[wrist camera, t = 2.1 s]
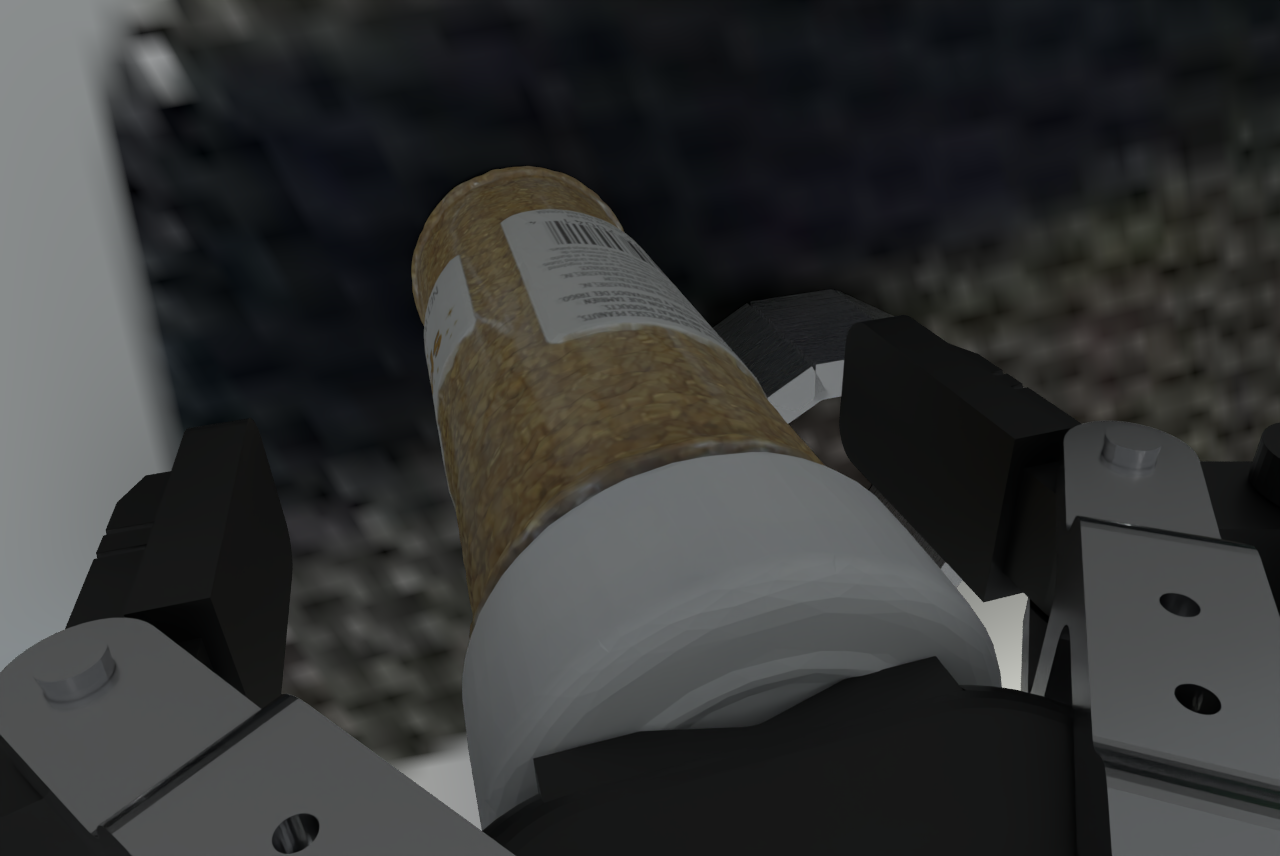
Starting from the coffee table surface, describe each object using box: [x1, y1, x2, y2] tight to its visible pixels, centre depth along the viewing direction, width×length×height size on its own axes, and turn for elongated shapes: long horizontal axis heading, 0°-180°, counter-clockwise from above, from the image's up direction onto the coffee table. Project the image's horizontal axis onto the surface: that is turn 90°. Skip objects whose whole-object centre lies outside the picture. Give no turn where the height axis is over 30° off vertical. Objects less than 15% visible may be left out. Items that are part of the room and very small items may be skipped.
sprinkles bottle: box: [411, 166, 1002, 830], centre depth 13 cm, size 5×5×14 cm
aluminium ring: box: [713, 289, 962, 588], centre depth 21 cm, size 8×8×4 cm
